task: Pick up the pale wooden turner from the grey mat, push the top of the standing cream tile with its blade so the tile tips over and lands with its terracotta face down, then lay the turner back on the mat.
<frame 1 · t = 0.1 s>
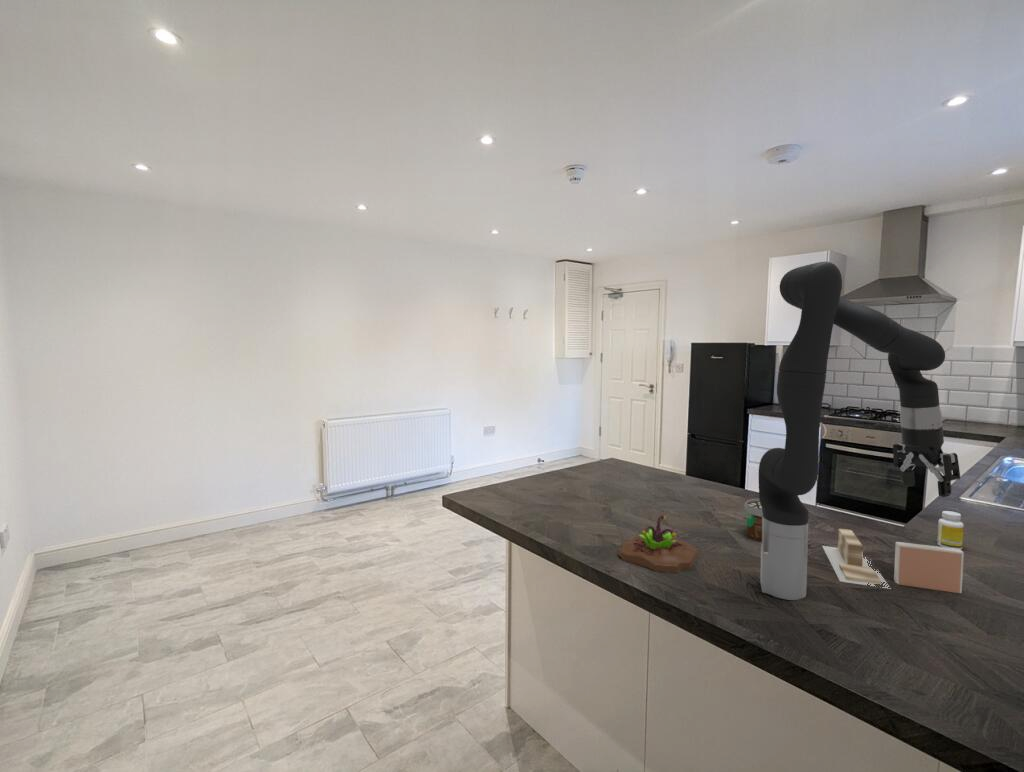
hand: (926, 490, 115), 22 cm above the countertop, tool pointing down, fingers open, 8 cm apart
toy plant on soil: (659, 557, 134), on the countertop
tile: (926, 588, 114), on the countertop
turner: (849, 559, 129), resting on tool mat
food container: (754, 535, 148), on the countertop
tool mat: (853, 566, 125), on the countertop
supplement bottle: (949, 547, 137), on the countertop
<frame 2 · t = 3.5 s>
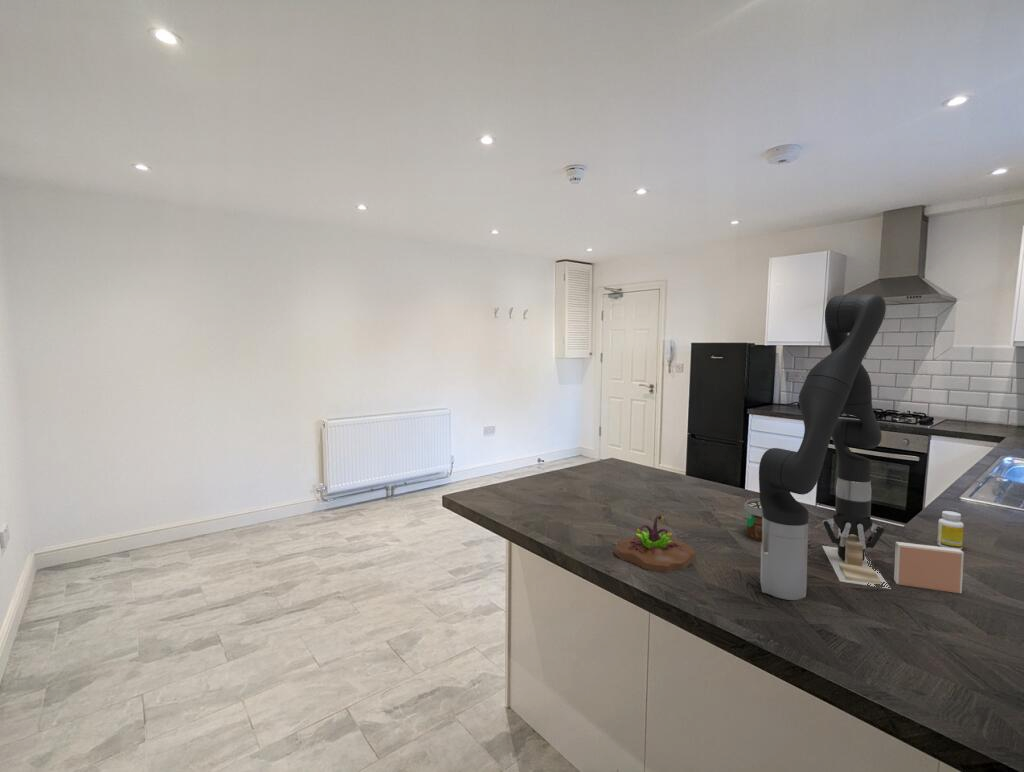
hand: (850, 559, 127), 1 cm above the countertop, tool pointing down, fingers closed on turner, 3 cm apart
turner: (849, 558, 129), resting on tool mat, touching gripper
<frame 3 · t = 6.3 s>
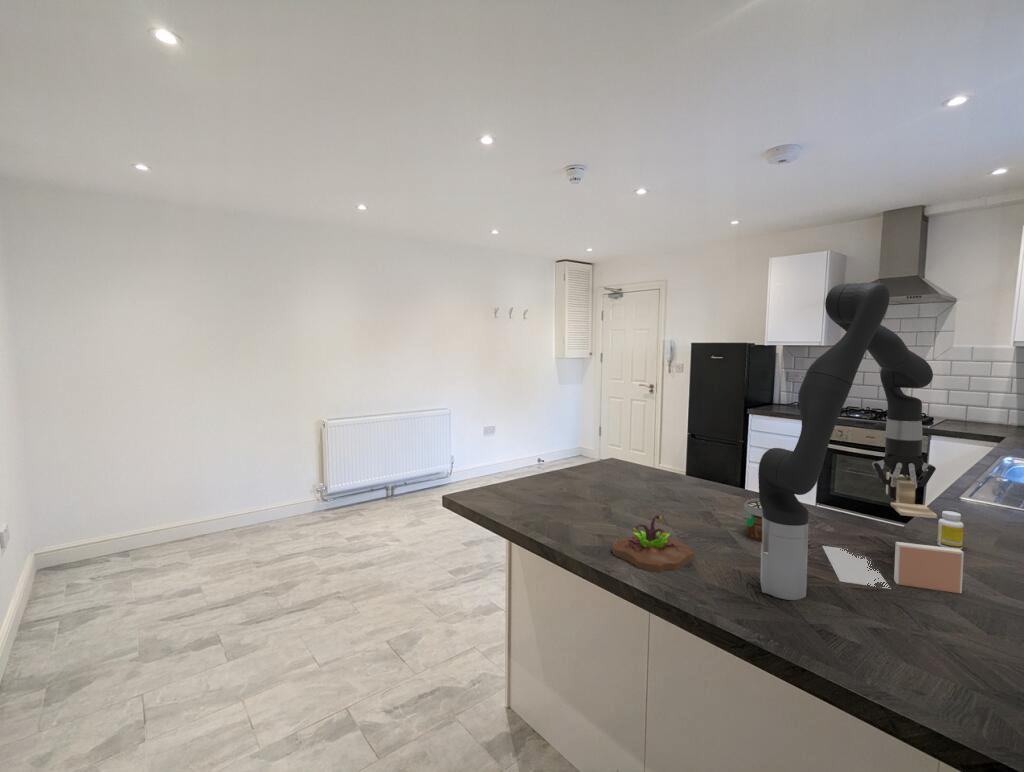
hand: (901, 500, 129), 16 cm above the countertop, tool pointing down, fingers closed on turner, 3 cm apart
turner: (899, 499, 130), point 15 cm above the countertop, touching gripper
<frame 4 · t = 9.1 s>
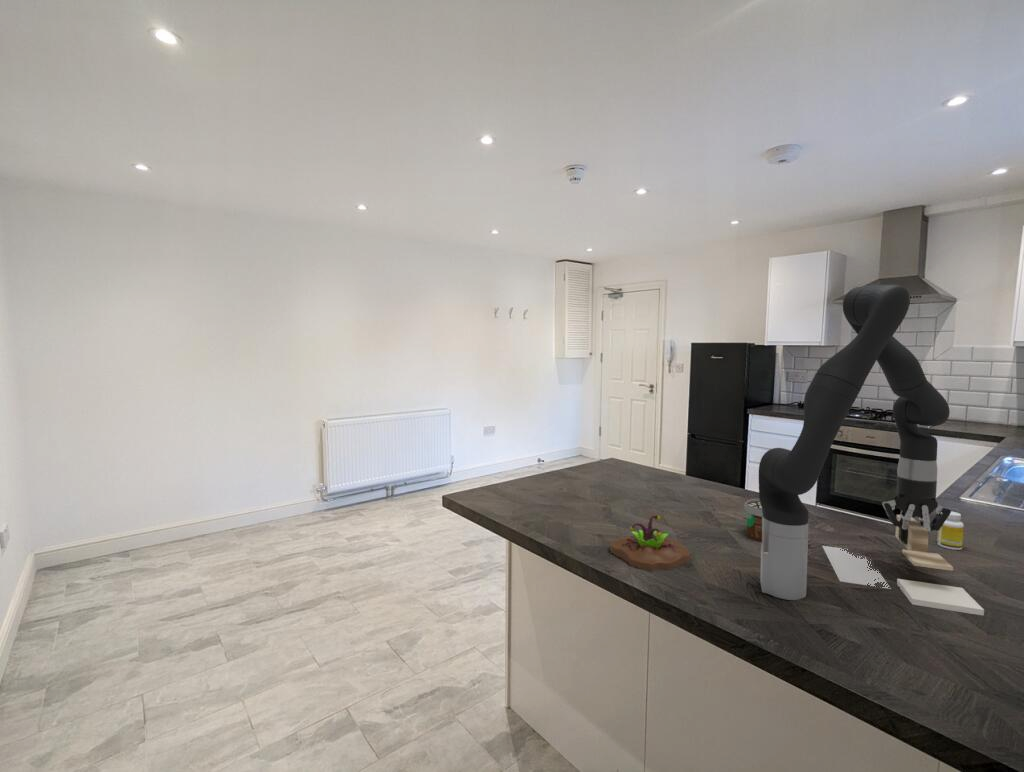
hand: (913, 543, 121), 7 cm above the countertop, tool pointing down, fingers closed on turner, 3 cm apart
tile: (928, 587, 112), point 1 cm above the countertop, tilted 90°
turner: (910, 545, 122), point 6 cm above the countertop, touching gripper
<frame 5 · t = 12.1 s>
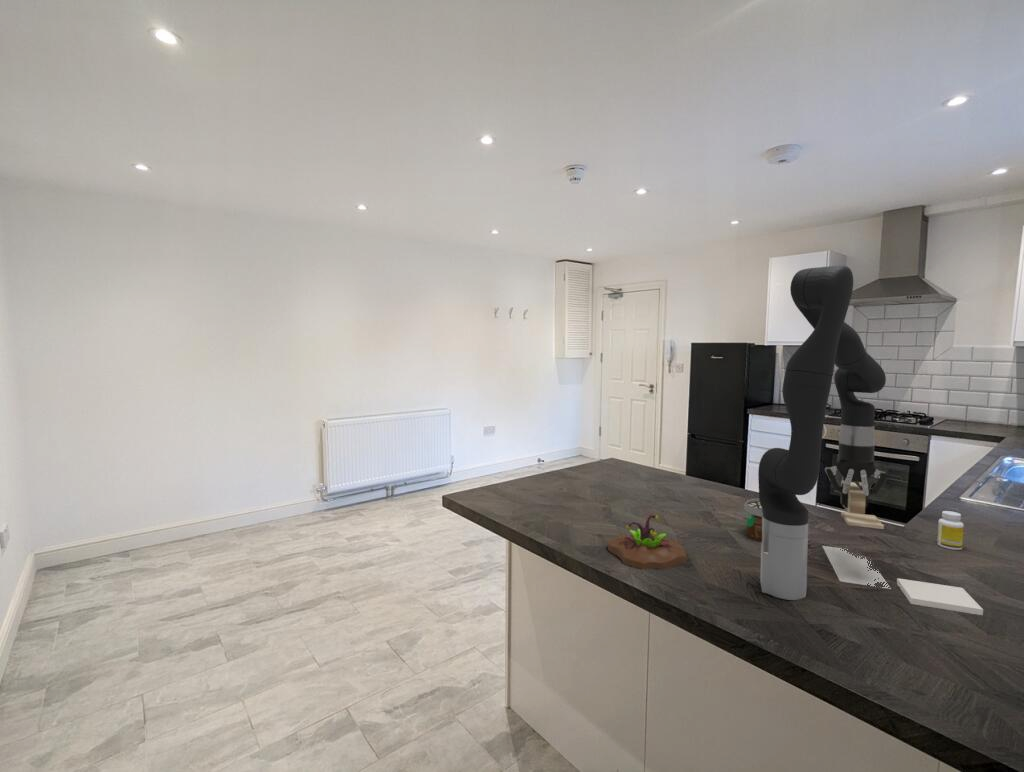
hand: (853, 507, 126), 15 cm above the countertop, tool pointing down, fingers closed on turner, 3 cm apart
turner: (852, 509, 128), point 14 cm above the countertop, touching gripper
when the fingers open (2 cm above the countertop, at t = 14.9 s): turner stays where it is, resting on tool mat.
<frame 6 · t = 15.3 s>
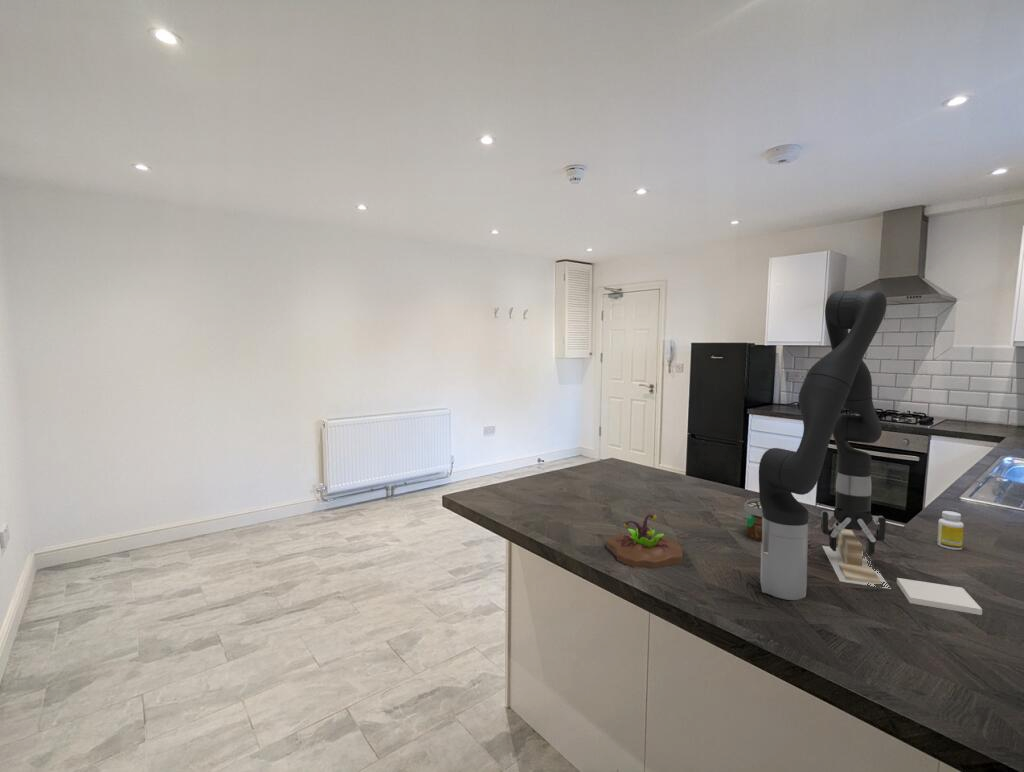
hand: (851, 552, 127), 3 cm above the countertop, tool pointing down, fingers open, 7 cm apart
turner: (849, 558, 129), resting on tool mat
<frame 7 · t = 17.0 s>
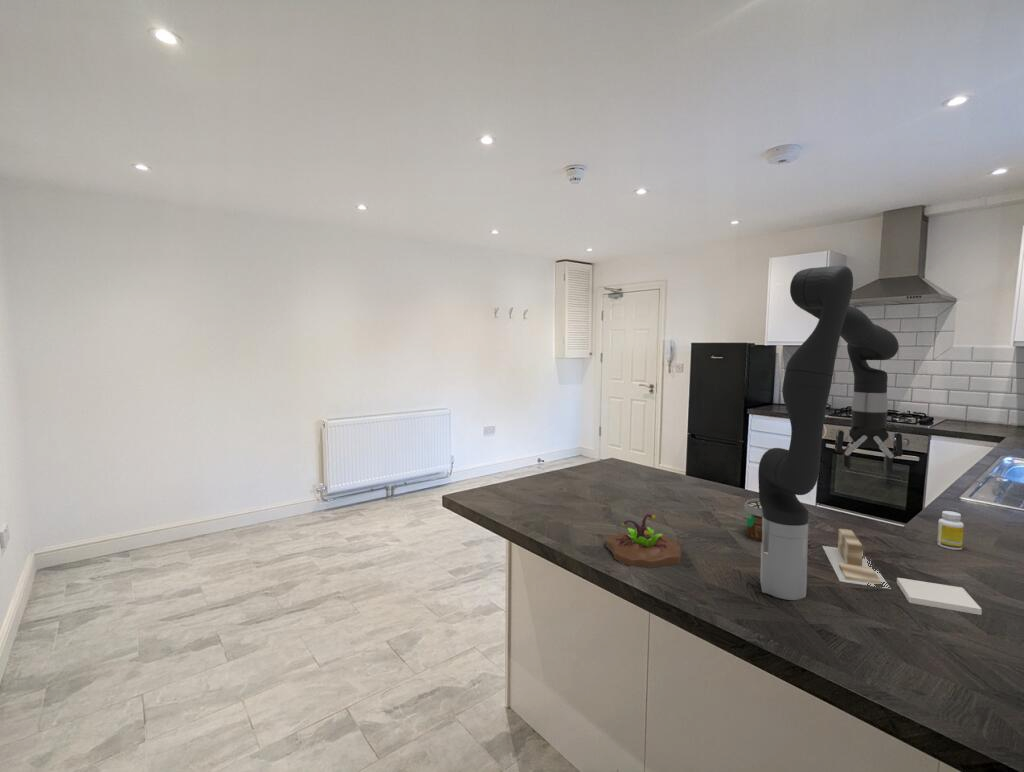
hand: (866, 470, 128), 24 cm above the countertop, tool pointing down, fingers open, 8 cm apart
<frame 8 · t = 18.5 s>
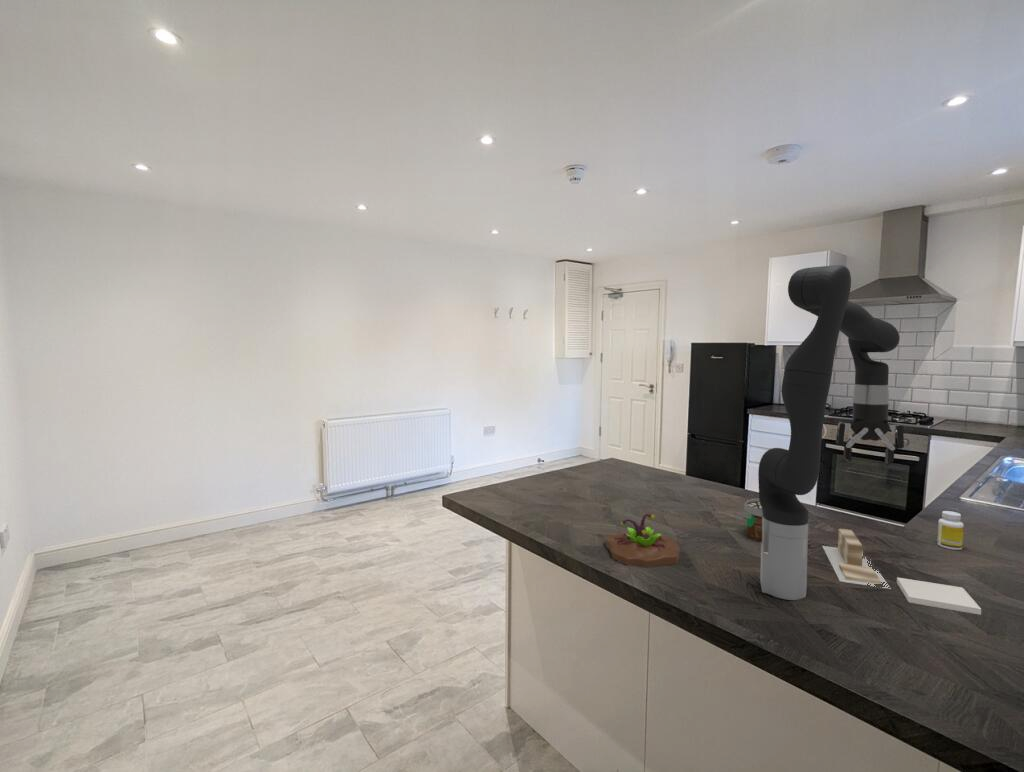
hand: (868, 462, 128), 26 cm above the countertop, tool pointing down, fingers open, 8 cm apart
at the end: tile tilted 90°; tile inside the target area (2.3 cm from its centre), point 0.7 cm above the countertop; turner inside the target area (0.5 cm from its centre), resting on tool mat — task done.
